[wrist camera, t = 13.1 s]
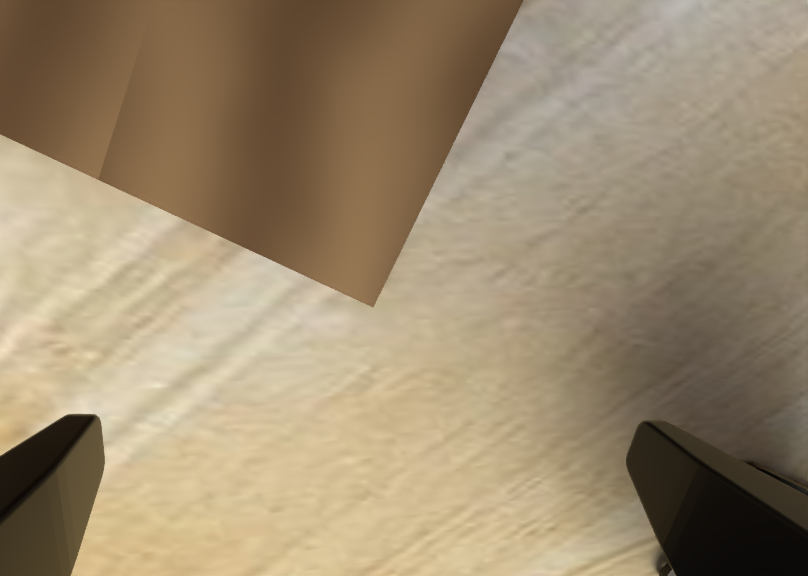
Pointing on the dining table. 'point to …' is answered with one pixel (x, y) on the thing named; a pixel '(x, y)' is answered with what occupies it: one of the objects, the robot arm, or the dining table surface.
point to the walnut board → (257, 113)
